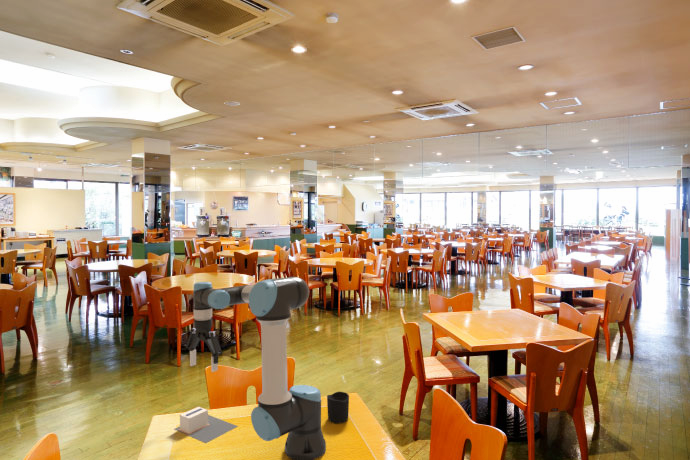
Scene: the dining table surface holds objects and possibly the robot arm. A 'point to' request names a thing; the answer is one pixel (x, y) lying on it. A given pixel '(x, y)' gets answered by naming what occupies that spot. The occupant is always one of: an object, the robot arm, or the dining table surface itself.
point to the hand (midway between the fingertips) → (203, 368)
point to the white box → (193, 419)
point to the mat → (210, 430)
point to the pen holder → (338, 407)
